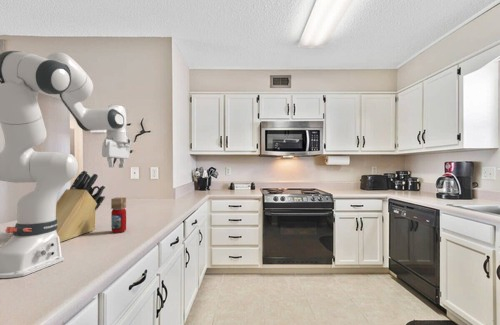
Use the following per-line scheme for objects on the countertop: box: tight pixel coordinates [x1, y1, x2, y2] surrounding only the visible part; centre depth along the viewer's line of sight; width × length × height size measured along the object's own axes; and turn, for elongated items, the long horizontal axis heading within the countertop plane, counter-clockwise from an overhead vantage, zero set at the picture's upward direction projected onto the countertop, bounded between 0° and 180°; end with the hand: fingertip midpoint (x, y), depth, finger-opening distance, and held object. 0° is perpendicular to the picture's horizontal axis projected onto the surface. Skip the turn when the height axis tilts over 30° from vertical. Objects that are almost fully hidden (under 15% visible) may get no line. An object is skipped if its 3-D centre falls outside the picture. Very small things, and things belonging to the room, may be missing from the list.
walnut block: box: [110, 197, 127, 210], centre depth 143 cm, size 5×5×5 cm
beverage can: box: [110, 208, 127, 234], centre depth 143 cm, size 7×7×12 cm
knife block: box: [56, 170, 106, 243], centre depth 138 cm, size 11×35×31 cm, turn 173°
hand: (116, 167), depth 137 cm, fingers open, 8 cm apart
